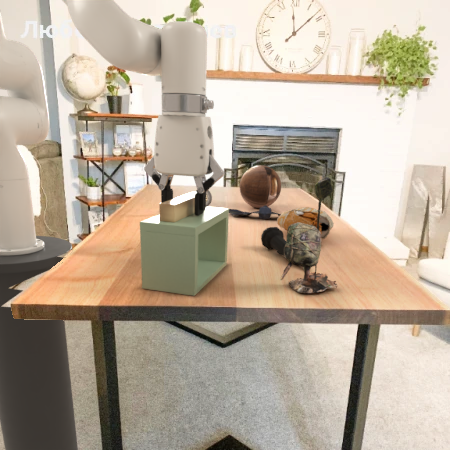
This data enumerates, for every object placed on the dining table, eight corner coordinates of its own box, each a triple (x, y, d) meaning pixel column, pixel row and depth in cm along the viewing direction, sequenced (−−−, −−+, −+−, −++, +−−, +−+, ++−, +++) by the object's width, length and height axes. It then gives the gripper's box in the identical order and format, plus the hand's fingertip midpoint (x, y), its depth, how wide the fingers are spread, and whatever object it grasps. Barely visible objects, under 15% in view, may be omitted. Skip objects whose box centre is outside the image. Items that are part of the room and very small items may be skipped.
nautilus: (340, 252, 109) (279, 252, 110) (327, 228, 128) (275, 228, 129) (344, 221, 106) (281, 221, 107) (329, 201, 125) (276, 201, 126)
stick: (159, 221, 76) (159, 203, 75) (191, 206, 90) (191, 191, 89) (174, 222, 75) (174, 204, 74) (204, 208, 89) (205, 192, 88)
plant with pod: (272, 280, 86) (281, 174, 78) (328, 280, 87) (342, 175, 80) (282, 295, 78) (293, 179, 71) (343, 295, 80) (360, 181, 72)
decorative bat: (218, 204, 139) (221, 202, 149) (217, 217, 141) (220, 214, 150) (313, 209, 137) (310, 206, 147) (311, 222, 139) (308, 219, 148)
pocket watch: (189, 213, 147) (190, 182, 144) (186, 208, 155) (187, 179, 151) (214, 213, 149) (214, 182, 145) (209, 208, 157) (210, 179, 153)
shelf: (141, 288, 79) (139, 221, 75) (182, 259, 97) (183, 204, 93) (194, 296, 76) (195, 227, 72) (226, 264, 94) (228, 208, 90)
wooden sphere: (234, 204, 168) (235, 163, 162) (271, 204, 172) (274, 163, 166) (245, 211, 154) (247, 166, 149) (285, 211, 158) (289, 167, 153)
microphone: (310, 282, 95) (272, 247, 111) (322, 258, 93) (281, 226, 109) (290, 276, 93) (253, 242, 109) (301, 252, 91) (263, 220, 107)
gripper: (237, 109, 77) (233, 213, 84) (147, 106, 81) (150, 205, 88) (225, 107, 70) (221, 220, 77) (128, 104, 75) (132, 212, 81)
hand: (183, 211), depth 82 cm, fingers open, 5 cm apart
